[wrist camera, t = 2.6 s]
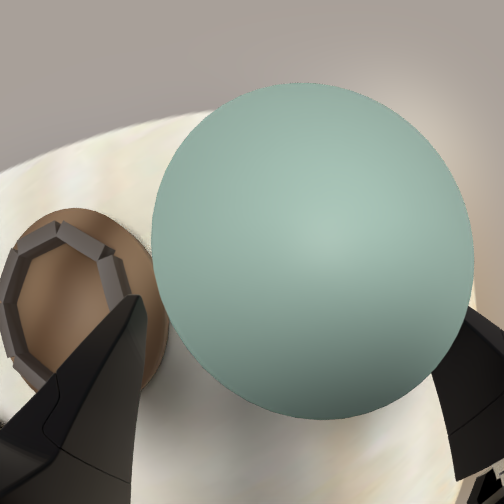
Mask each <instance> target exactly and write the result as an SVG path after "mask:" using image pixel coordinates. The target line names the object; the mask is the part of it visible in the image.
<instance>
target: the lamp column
mask: <svg viewBox="0 0 504 504" xmlns="http://www.w3.org/2000/svg"><path fill="white" fill-rule="evenodd" d="M151 248H152V259H153V269H154V274H155V278H156V282H157V286H158V290H159V294H160V297H161V300H162V302H163V305H164V307H165V309H166V312H167V314H168V316H169V319H170V321H171V323H172V325H173V327H174V328H175V330H176V332H177V333H178V335H179V337H180V338H181V340H182V341H183V343H184V345H185V346H186V348H187V349H188V350H189V351H190V353H191V354H192V355H193V356H194V357H195V359H196V360H197V361H198V362H199V363H200V364H201V366H202V367H203V368H204V369H205V370H206V371H207V372H208V373H210V374H211V375H212V376H213V377H214V378H215V379H216V380H218V381H219V382H220V383H221V384H222V385H223V386H225V387H226V388H228V389H229V390H231V391H232V392H234V393H235V394H237V395H238V396H240V397H242V398H243V399H245V400H247V401H248V402H251V403H253V404H255V405H257V406H260V407H262V408H264V409H267V410H269V411H272V412H275V413H279V414H283V415H287V416H291V417H295V418H303V419H314V420H330V419H344V418H349V417H353V416H358V415H362V414H366V413H369V412H372V411H374V410H377V409H379V408H382V407H384V406H387V405H388V404H390V403H392V402H394V401H396V400H397V399H399V398H401V397H403V396H404V395H406V394H407V393H408V392H410V391H411V390H412V389H414V388H415V387H416V386H417V385H419V384H420V383H421V382H422V381H423V380H424V379H425V378H426V377H427V376H428V375H429V374H430V373H431V372H432V371H433V370H434V369H435V368H436V367H437V365H438V364H439V363H440V361H441V360H442V359H443V357H444V356H445V355H446V353H447V352H448V350H449V349H450V347H451V345H452V343H453V342H454V340H455V338H456V336H457V334H458V332H459V330H460V327H461V325H462V323H463V320H464V318H465V315H466V311H467V308H468V304H469V300H470V296H471V290H472V284H473V275H474V248H473V238H472V232H471V226H470V221H469V218H468V214H467V210H466V207H465V203H464V202H463V198H462V196H461V193H460V191H459V188H458V186H457V184H456V182H455V180H454V178H453V176H452V174H451V172H450V171H449V169H448V167H447V166H446V164H445V163H444V161H443V160H442V158H441V157H440V155H439V154H438V153H437V151H436V150H435V149H434V148H433V146H432V145H431V144H430V143H429V142H428V140H427V139H425V137H424V136H423V135H422V134H420V132H419V131H418V130H417V129H416V128H415V127H413V126H412V125H411V124H410V123H409V122H407V121H406V120H404V118H402V117H401V116H400V115H398V114H397V113H395V112H394V111H392V110H391V109H389V108H388V107H386V106H384V105H383V104H380V103H378V102H377V101H375V100H373V99H371V98H369V97H366V96H364V95H361V94H359V93H356V92H353V91H350V90H347V89H343V88H339V87H335V86H330V85H323V84H316V83H290V84H281V85H274V86H270V87H266V88H261V89H257V90H255V91H252V92H249V93H246V94H244V95H241V96H239V97H237V98H235V99H233V100H232V101H229V102H228V103H226V104H224V105H222V106H221V107H219V108H218V109H217V110H215V111H214V112H212V113H211V114H210V115H208V116H207V117H206V118H205V119H204V120H203V121H201V122H200V123H199V124H198V125H197V126H196V127H195V128H194V129H193V130H192V131H191V132H190V134H189V135H188V136H187V137H186V139H185V140H184V141H183V143H182V144H181V145H180V147H179V148H178V149H177V151H176V153H175V154H174V156H173V158H172V160H171V162H170V163H169V165H168V167H167V169H166V171H165V174H164V176H163V179H162V182H161V184H160V187H159V190H158V193H157V197H156V202H155V207H154V212H153V217H152V234H151Z"/></svg>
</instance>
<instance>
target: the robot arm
mask: <svg viewBox="0 0 504 504" xmlns="http://www.w3.org/2000/svg"><path fill="white" fill-rule="evenodd" d="M147 322H148V317H147V312H146V309H145V306H144V303H143V299H142V297H141V295H139V294H128V295H126V296H125V297H124V298H123V299H122V300H121V301H120V302H119V303H118V304H117V305H116V306H115V307H114V308H113V309H112V310H111V311H110V312H109V313H108V314H107V316H106V317H105V318H104V319H103V320H102V321H101V322H100V323H99V324H98V325H97V326H96V327H95V328H94V329H93V330H92V331H91V332H90V334H89V335H88V336H87V337H86V338H85V339H84V340H83V341H82V342H81V343H80V344H79V345H78V347H77V348H76V349H75V350H74V351H73V352H72V353H71V354H70V355H69V357H68V358H67V359H66V360H65V361H64V362H63V363H62V364H61V366H60V367H59V368H58V369H57V370H56V373H54V374H53V375H52V376H51V377H50V378H49V379H48V381H47V382H46V383H45V384H44V385H43V386H42V387H41V388H40V390H39V391H38V392H37V393H36V394H35V395H34V396H33V397H32V398H31V399H30V400H29V401H28V402H27V403H26V404H25V405H24V406H23V407H22V408H21V409H20V410H19V411H18V412H17V413H16V414H15V415H14V416H13V417H12V418H11V419H10V420H9V421H8V422H7V423H6V425H5V426H4V427H2V428H1V429H0V504H130V502H131V477H132V462H133V450H134V439H135V430H136V421H137V413H138V406H139V398H140V391H141V385H142V378H143V372H144V365H145V350H146V335H147ZM431 374H432V377H433V381H434V384H435V387H436V391H437V394H438V398H439V401H440V405H441V409H442V413H443V417H444V421H445V425H446V429H447V434H448V439H449V444H450V449H451V454H452V460H453V466H454V472H455V479H456V481H459V480H462V479H464V478H466V477H468V476H470V475H472V474H475V473H477V472H479V471H481V470H483V469H485V468H487V467H489V466H491V465H492V467H491V468H489V469H488V470H486V471H485V472H484V473H482V474H481V475H480V476H478V477H477V478H476V481H475V483H474V486H473V489H472V491H471V494H470V496H469V499H468V501H467V504H504V331H503V330H502V329H500V328H499V327H497V326H496V325H495V324H493V323H492V322H491V321H489V320H488V319H486V318H485V317H484V316H482V315H481V314H479V313H478V312H477V311H475V310H474V309H472V308H471V307H469V306H468V308H467V311H466V315H465V318H464V320H463V323H462V325H461V327H460V330H459V332H458V334H457V336H456V338H455V340H454V342H453V343H452V345H451V347H450V349H449V350H448V352H447V353H446V355H445V356H444V357H443V359H442V360H441V361H440V363H439V364H438V365H437V367H436V368H435V369H434V370H433V371H432V372H431Z"/></svg>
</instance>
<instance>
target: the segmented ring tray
mask: <svg viewBox="0 0 504 504" xmlns="http://www.w3.org/2000/svg"><path fill="white" fill-rule="evenodd" d="M128 294H139V295H141V297H142V299H143V303H144V306H145V309H146V312H147V317H148V322H147V335H146V350H145V365H144V372H143V378H142V385H141V390H142V389H143V388H144V387H145V386H146V385H147V384H148V383H149V381H150V380H151V378H152V377H153V376H154V374H155V373H156V371H157V369H158V367H159V365H160V363H161V360H162V358H163V355H164V352H165V348H166V343H167V339H168V329H169V316H168V314H167V312H166V309H165V307H164V305H163V302H162V300H161V297H160V294H159V290H158V286H157V282H156V278H155V274H154V269H153V259H152V257H151V256H150V255H149V253H148V252H147V250H146V249H145V247H144V246H143V245H142V244H141V243H140V242H139V241H138V240H137V239H136V238H135V237H134V236H133V235H132V234H130V233H129V232H128V231H127V230H126V229H124V228H123V227H122V226H120V225H119V224H118V223H117V222H115V221H113V220H112V219H110V218H109V217H107V216H105V215H103V214H101V213H98V212H96V211H92V210H88V209H81V208H69V209H62V210H59V211H55V212H52V213H50V214H48V215H46V216H44V217H42V218H41V219H39V220H38V221H36V222H35V223H34V224H33V225H31V226H30V227H29V228H28V229H27V230H26V231H25V232H24V233H23V235H22V236H21V237H20V238H19V240H17V243H16V244H15V246H14V247H13V249H12V248H11V250H10V253H9V255H8V258H7V261H6V263H5V266H4V269H3V272H2V275H1V278H0V332H1V336H2V340H3V344H4V347H5V351H6V354H7V358H9V357H11V360H12V361H13V368H14V369H15V370H16V371H17V372H18V373H20V375H21V376H22V378H23V379H24V380H25V382H26V383H27V384H28V385H29V386H30V387H31V388H32V389H33V390H34V391H35V392H36V393H37V392H38V391H39V390H40V388H41V387H42V386H43V385H44V384H45V383H46V382H47V381H48V379H49V378H50V377H51V376H52V375H53V374H54V373H56V370H57V369H58V368H59V367H60V366H61V364H62V363H63V362H64V361H65V360H66V359H67V358H68V357H69V355H70V354H71V353H72V352H73V351H74V350H75V349H76V348H77V347H78V345H79V344H80V343H81V342H82V341H83V340H84V339H85V338H86V337H87V336H88V335H89V334H90V332H91V331H92V330H93V329H94V328H95V327H96V326H97V325H98V324H99V323H100V322H101V321H102V320H103V319H104V318H105V317H106V316H107V314H108V313H109V312H110V311H111V310H112V309H113V308H114V307H115V306H116V305H117V304H118V303H119V302H120V301H121V300H122V299H123V298H124V297H125V296H126V295H128Z"/></svg>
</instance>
